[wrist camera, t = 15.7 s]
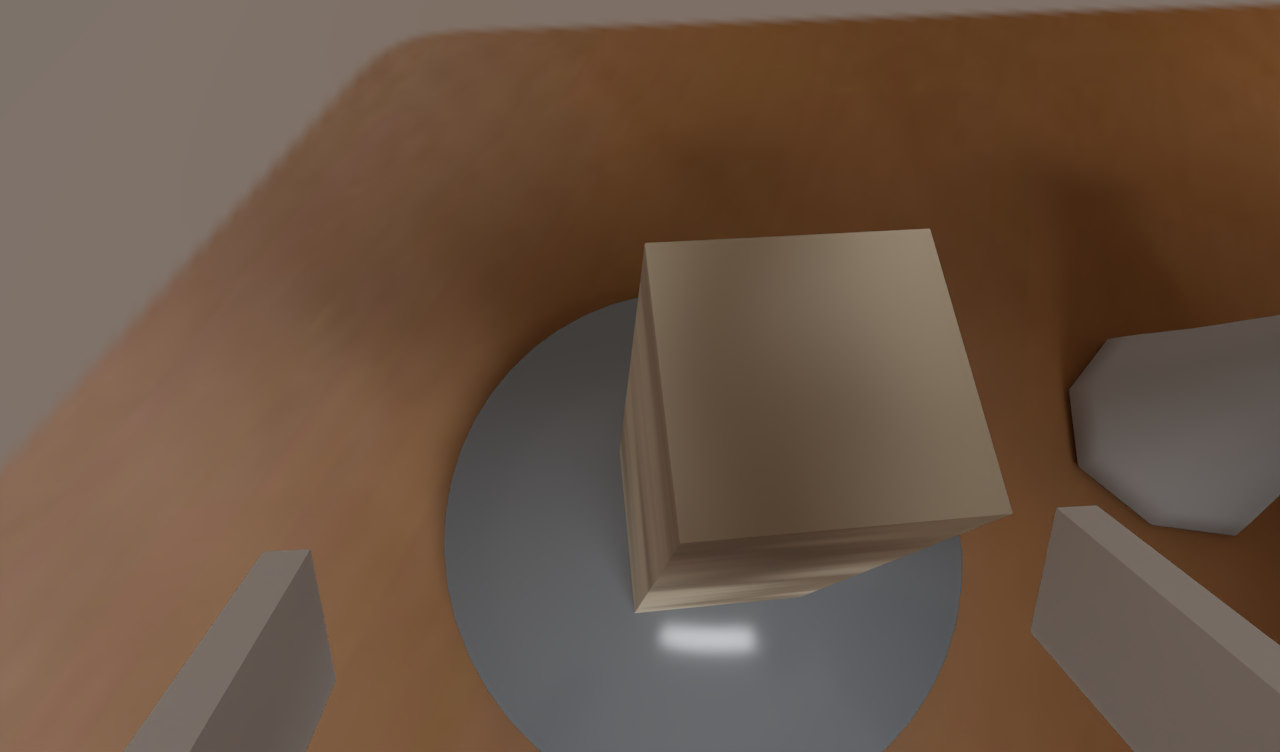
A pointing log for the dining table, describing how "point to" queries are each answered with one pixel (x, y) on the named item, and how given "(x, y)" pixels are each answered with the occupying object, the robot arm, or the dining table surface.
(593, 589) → the plate
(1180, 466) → the flask
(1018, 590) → the dining table surface
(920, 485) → the birch block
